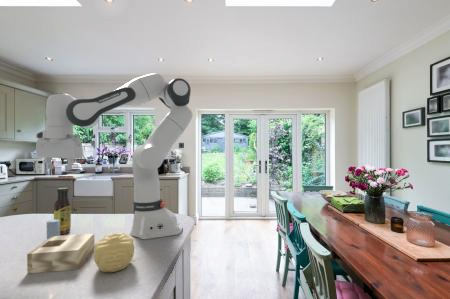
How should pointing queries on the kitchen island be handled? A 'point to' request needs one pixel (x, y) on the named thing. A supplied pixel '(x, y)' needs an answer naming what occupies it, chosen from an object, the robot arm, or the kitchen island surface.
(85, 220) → the kitchen island surface
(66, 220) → the sauce bottle
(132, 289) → the kitchen island surface
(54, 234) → the pin
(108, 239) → the pale yellow rounded lump
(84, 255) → the bore block
